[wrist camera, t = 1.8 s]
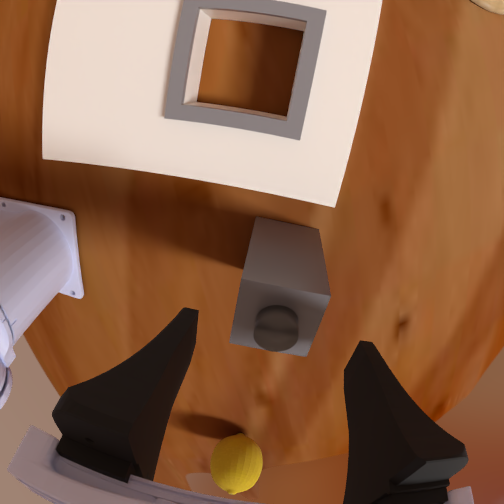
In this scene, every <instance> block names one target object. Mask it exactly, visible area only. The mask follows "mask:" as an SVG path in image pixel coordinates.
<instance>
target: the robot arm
mask: <svg viewBox="0 0 504 504" xmlns="http://www.w3.org/2000/svg"><path fill="white" fill-rule="evenodd" d="M63 215H64V216H65V218H64V217H63ZM58 292H60V293H63V294H66V295H69V296H72V297H75V298H78V299H81V298H82V297H83V296H84V290H83V284H82V277H81V270H80V262H79V253H78V244H77V234H76V222H75V215H74V213H73V212H72V211H69V210H64V209H59V208H54V207H49V206H44V205H39V204H33V203H28V202H23V201H18V200H13V199H8V198H2V197H0V409H1V408H2V407H3V405H4V404H5V402H6V401H7V399H8V396H9V394H10V391H11V388H12V373H11V370H10V368H9V365H10V364H11V363H12V361H13V360H14V358H15V357H16V355H15V353H14V351H13V345H14V344H15V343H16V342H17V340H18V339H19V338H20V337H21V335H22V334H23V333H24V332H25V330H26V329H27V328H28V327H29V326H30V324H31V323H32V322H33V321H34V320H35V318H36V317H37V316H38V315H39V314H40V312H41V311H42V310H43V309H44V308H45V307H46V305H47V304H48V303H49V302H50V301H51V300H52V299H53V297H54V296H55V295H56V294H57V293H58ZM198 312H199V310H194V309H190V308H186V307H185V308H183V309H182V310H181V311H180V312H179V313H178V315H177V316H176V317H175V318H174V319H173V320H172V321H171V322H170V323H169V324H168V325H167V326H166V327H165V328H164V329H163V330H162V331H161V332H160V333H159V334H158V335H157V336H156V337H155V338H154V339H153V340H152V341H150V342H149V343H148V344H147V345H146V346H144V347H143V348H142V349H141V350H139V351H138V352H137V353H136V354H134V355H133V356H131V357H130V358H128V359H127V360H125V361H124V362H122V363H121V364H119V365H117V366H116V367H114V368H112V369H111V370H109V371H107V372H105V373H103V374H101V375H99V376H96V377H94V378H92V379H90V380H88V381H85V382H82V383H80V384H77V385H74V386H71V387H68V389H67V390H66V391H65V393H64V394H63V395H62V396H61V398H60V399H59V401H58V403H57V405H56V406H55V408H54V410H53V412H52V417H53V419H54V421H55V423H56V425H57V426H58V428H59V430H60V431H61V433H62V438H61V439H60V441H59V440H58V439H56V438H55V437H54V436H52V435H50V434H48V433H46V432H44V431H42V430H41V429H39V428H37V427H35V426H33V425H31V426H30V427H29V429H28V431H27V432H26V434H25V436H24V438H23V440H22V442H21V444H20V445H19V447H18V449H17V451H16V453H15V455H14V457H13V459H12V461H11V463H10V465H9V467H8V468H7V470H8V472H9V473H10V474H11V475H13V476H14V477H15V478H16V479H17V480H18V481H20V482H21V483H22V484H23V485H25V486H26V487H27V488H28V489H29V490H31V491H32V492H34V493H36V494H37V495H39V496H41V497H43V498H44V499H46V500H48V501H50V502H52V503H54V504H263V503H254V502H246V501H240V500H233V499H227V498H221V497H216V496H210V495H206V494H201V493H196V492H192V491H187V490H183V489H179V488H175V487H171V486H168V485H164V484H160V483H157V482H153V479H154V474H155V470H156V465H157V461H158V457H159V453H160V449H161V445H162V441H163V437H164V434H165V430H166V426H167V423H168V419H169V416H170V412H171V409H172V406H173V403H174V401H175V398H176V396H177V394H178V391H179V389H180V386H181V384H182V382H183V379H184V377H185V374H186V372H187V369H188V367H189V365H190V362H191V358H192V355H193V351H194V348H195V344H196V334H197V323H198ZM344 394H345V403H346V411H347V420H348V429H349V458H348V473H347V482H346V489H345V496H344V501H343V504H474V501H473V496H472V491H471V487H470V486H468V487H463V488H459V489H454V490H451V491H449V492H447V489H446V487H447V486H449V484H450V483H449V478H450V477H452V476H453V475H454V474H456V473H457V472H458V471H460V470H461V469H462V468H463V467H465V465H466V464H467V462H468V456H467V452H466V448H465V445H464V444H463V443H462V442H460V441H459V440H457V439H456V438H454V437H453V436H451V435H450V434H448V433H447V432H446V431H444V430H443V429H442V428H441V427H439V426H438V425H437V424H436V423H435V422H434V421H433V420H431V419H430V418H429V417H428V416H427V415H426V414H425V413H424V412H423V411H422V410H421V409H420V408H419V407H418V405H417V404H416V403H415V402H414V401H413V400H412V399H411V397H410V396H409V395H408V394H407V392H406V391H405V390H404V388H403V387H402V386H401V384H400V383H399V382H398V380H397V379H396V377H395V376H394V375H393V373H392V372H391V370H390V369H389V367H388V365H387V364H386V362H385V361H384V359H383V358H382V356H381V355H380V353H379V352H378V350H377V348H376V347H375V345H374V344H373V343H372V342H367V341H360V342H359V344H358V345H357V347H356V349H355V351H354V353H353V355H352V357H351V358H350V360H349V362H348V364H347V366H346V368H345V369H344Z"/></svg>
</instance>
